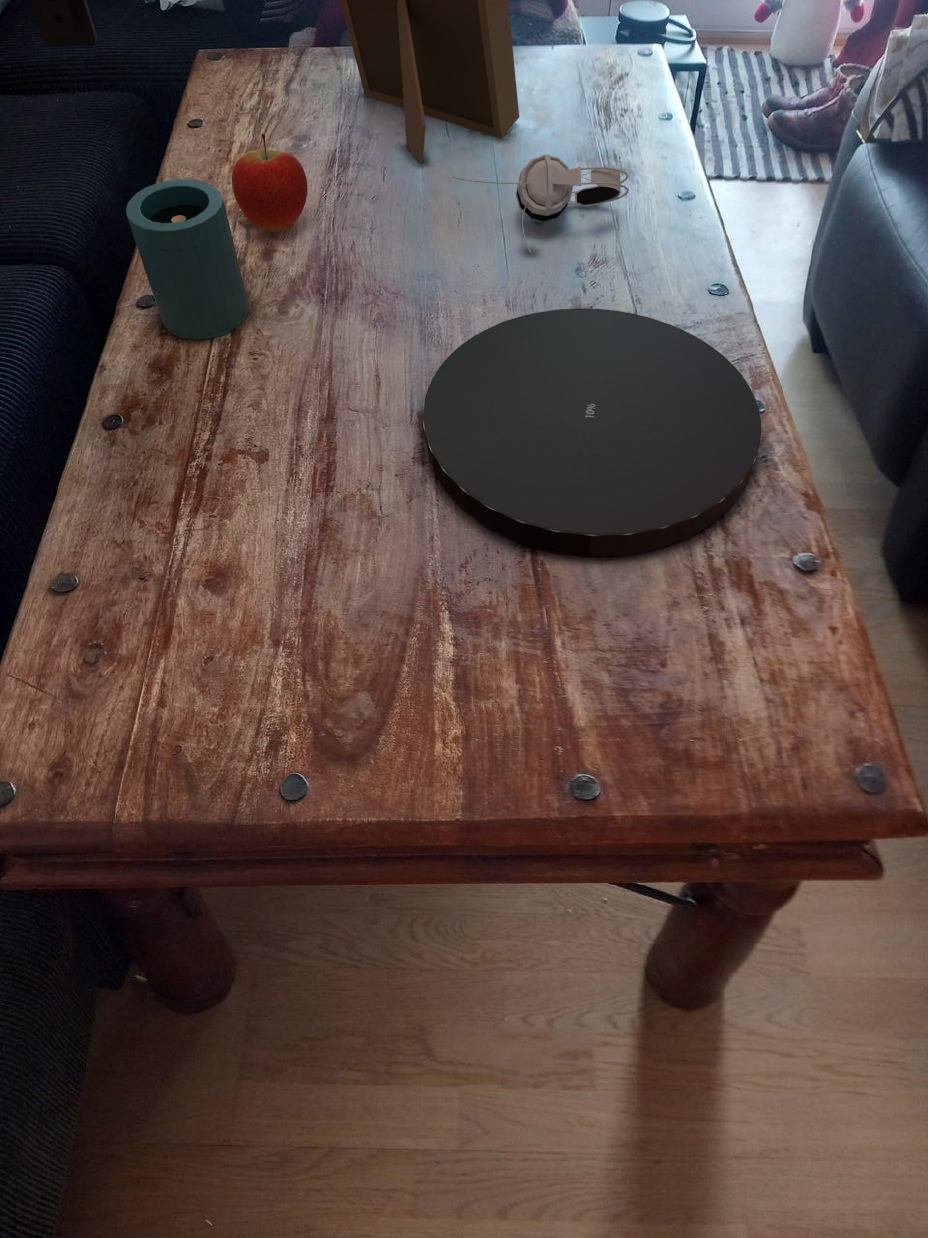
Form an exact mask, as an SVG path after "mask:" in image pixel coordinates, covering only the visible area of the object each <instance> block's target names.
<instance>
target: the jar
mask: <svg viewBox="0 0 928 1238" xmlns="http://www.w3.org/2000/svg"><path fill="white" fill-rule="evenodd" d="M125 214H126V218H127V222H128V223H129V224H128V225H129V226H130V227H129V228H130V230H131V232H132V236H133V239H134V242H135V245H136V248H137V250H138V253H139V257H140V259H141V263H142V265H143V269H144V272H145V274H146V278H147V281H148V283H149V286H150V290H151V293H152V296H153V298H154V302H155V305H156V307H157V310H158V313H159V316H160V319H161V322H162V324H163V326H164V328H165V329H166V330H167V331H168V332H169V333H170V334H172V335H174V336H175V337H178V338H181V339H185V340H194V341H197V340H199V341H200V340H210V339H215V338H219V337H222V336H224V335H226V334H229V333H231V332H232V331H234V330H235V329H237V328H239V326H241V325H242V324H243V323H244V321H246V318H247V316H248V314H249V310H250V308H249V307H250V306H249V300H248V297H247V291H246V288H245V283H244V280H243V276H242V270H241V268H240V262H239V258H238V255H237V251H236V247H235V242H234V238H233V234H232V230H231V227H230V226H231V225H230V221H229V217H228V213H227V207H226V205H225V201H224V197H223V195H222V191H221V190H219V189H218V188H217V187H216V186H214V184H212V183H209V182H206V181H204V180H199V179H194V178H193V179H191V178H178V179H177V178H176V179H169V180H164V181H160V182H157V183H154V184H151V185H149V186H146V187H144V188H142V189H141V190H140V191H138V192H136V193H135V194H134V195H133V196H132V197H131V198H130V200H128V202H127V205H126V207H125ZM178 215H182V216H185V217H186V221H182V222H177V223H172V222H171V219H172V218H173V217H175V216H178Z"/></svg>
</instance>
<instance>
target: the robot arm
mask: <svg viewBox="0 0 928 1238" xmlns="http://www.w3.org/2000/svg"><path fill="white" fill-rule="evenodd" d="M28 1H29V4H30V7H31V9H32V12H33V16H34V18H35V21H36V24H37V27H38V29H39V33H40V36H41V39H42V41H43V43H44V44H45V45H46V46H48V47H51V48H56V47H57V48H58V47H59V48H60V47H62V48H63V47H91V46H94V45H95V44H96V41H98V35H97V34H98V33H97V31H96V28H95V25H94V22H93V18H92V15H91V10H90V9H89V8H90V7H89V5H88V1H87V0H28Z"/></svg>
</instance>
